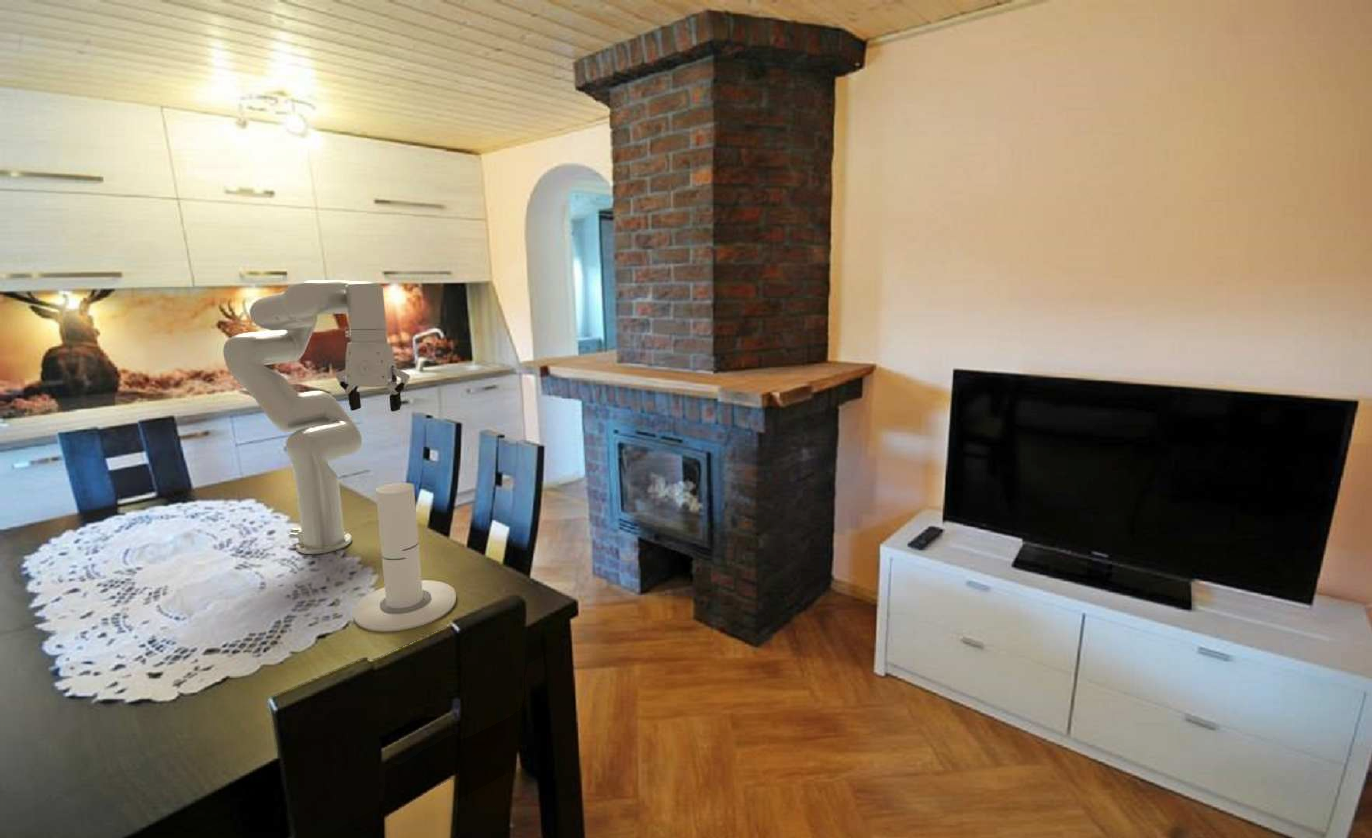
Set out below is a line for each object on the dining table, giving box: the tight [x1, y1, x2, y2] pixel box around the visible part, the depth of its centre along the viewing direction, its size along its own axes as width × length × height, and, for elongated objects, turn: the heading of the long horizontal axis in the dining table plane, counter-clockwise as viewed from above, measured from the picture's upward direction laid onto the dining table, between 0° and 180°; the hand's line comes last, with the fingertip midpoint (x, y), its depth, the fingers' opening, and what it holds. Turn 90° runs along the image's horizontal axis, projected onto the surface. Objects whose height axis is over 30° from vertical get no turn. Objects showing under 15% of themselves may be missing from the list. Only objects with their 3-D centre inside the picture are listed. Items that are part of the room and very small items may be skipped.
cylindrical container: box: [375, 482, 423, 608], centre depth 130 cm, size 7×7×25 cm
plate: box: [352, 579, 457, 633], centre depth 132 cm, size 20×20×1 cm
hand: (375, 409), depth 146 cm, fingers open, 9 cm apart
